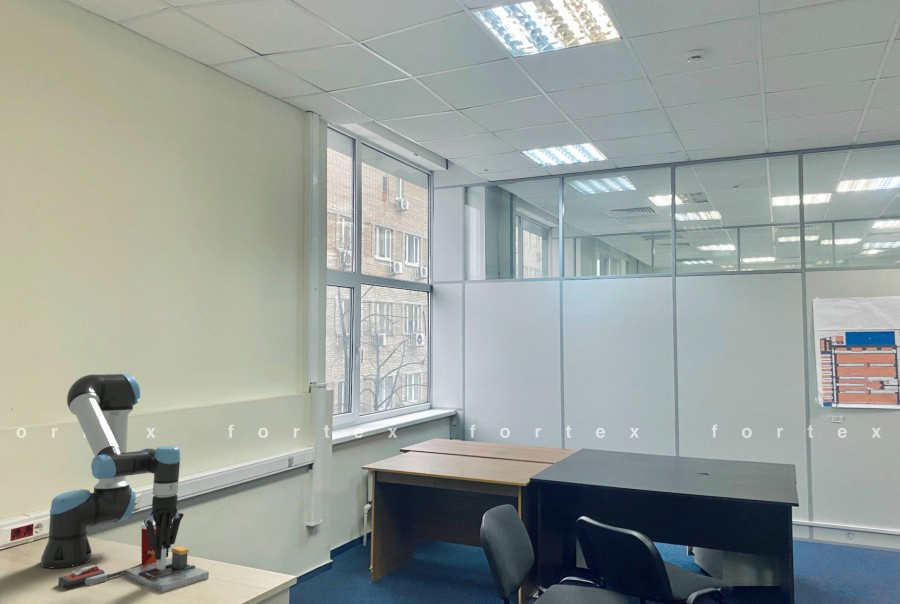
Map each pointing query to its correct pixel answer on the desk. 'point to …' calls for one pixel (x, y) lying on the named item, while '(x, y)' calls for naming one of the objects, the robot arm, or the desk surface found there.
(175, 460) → the robot arm
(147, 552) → the paper cup
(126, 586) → the desk surface
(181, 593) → the desk surface
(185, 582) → the console board
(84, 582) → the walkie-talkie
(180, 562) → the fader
